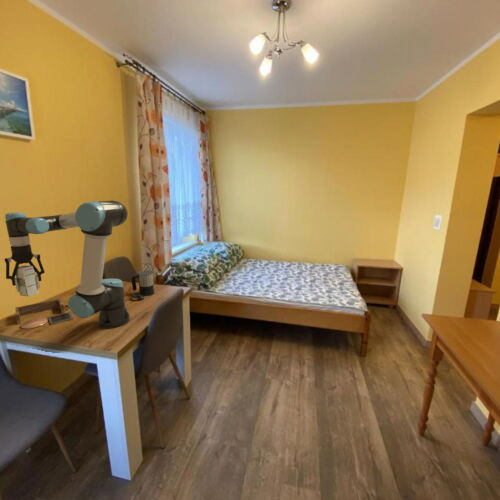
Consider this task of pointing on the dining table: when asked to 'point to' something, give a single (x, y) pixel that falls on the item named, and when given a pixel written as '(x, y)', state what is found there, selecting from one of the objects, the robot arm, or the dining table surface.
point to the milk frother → (143, 284)
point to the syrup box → (27, 281)
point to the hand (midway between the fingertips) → (28, 289)
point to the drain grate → (60, 318)
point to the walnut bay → (38, 308)
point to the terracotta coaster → (34, 323)
